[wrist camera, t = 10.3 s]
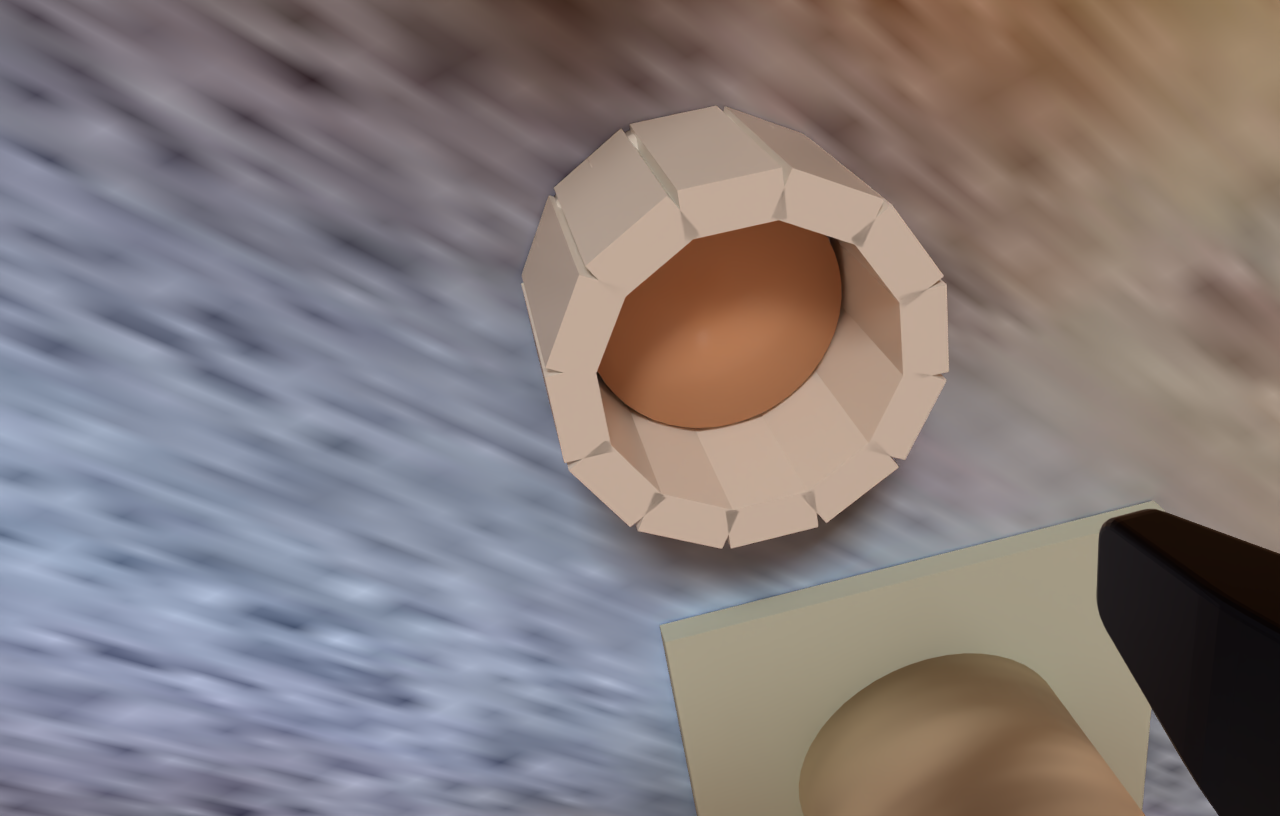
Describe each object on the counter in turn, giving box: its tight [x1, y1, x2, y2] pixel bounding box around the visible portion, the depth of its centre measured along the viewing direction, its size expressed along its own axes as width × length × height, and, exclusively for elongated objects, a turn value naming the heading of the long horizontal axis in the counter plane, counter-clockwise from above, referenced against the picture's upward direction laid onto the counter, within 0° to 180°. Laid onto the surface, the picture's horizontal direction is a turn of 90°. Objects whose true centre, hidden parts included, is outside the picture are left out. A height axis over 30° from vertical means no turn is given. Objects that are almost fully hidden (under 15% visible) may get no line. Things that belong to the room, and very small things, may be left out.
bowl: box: [521, 106, 949, 549], centre depth 20 cm, size 7×7×4 cm
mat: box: [660, 501, 1165, 816], centre depth 28 cm, size 12×12×1 cm
